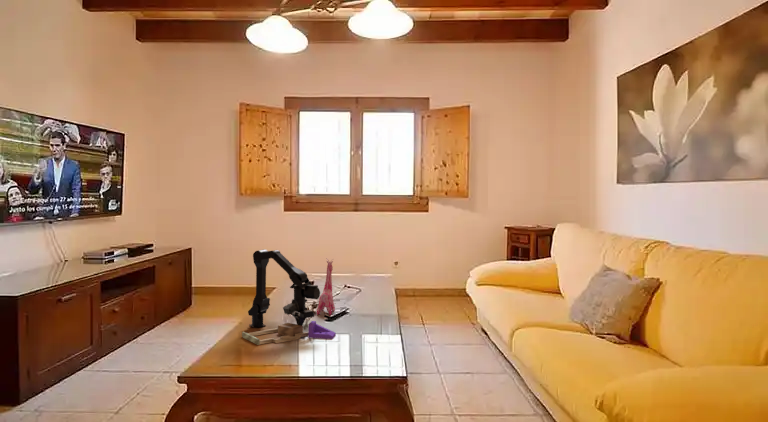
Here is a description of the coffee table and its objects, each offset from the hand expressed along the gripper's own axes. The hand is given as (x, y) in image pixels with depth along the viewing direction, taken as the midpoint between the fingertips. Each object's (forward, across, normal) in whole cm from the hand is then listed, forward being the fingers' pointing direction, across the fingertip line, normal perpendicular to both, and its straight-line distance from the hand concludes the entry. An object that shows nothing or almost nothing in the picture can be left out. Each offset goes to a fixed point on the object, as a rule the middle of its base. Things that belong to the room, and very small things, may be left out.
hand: (299, 328), depth 290 cm
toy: (+2, -29, +35) cm, 45 cm away
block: (+2, 0, -5) cm, 6 cm away
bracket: (+2, +13, +5) cm, 14 cm away
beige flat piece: (+2, +1, -13) cm, 14 cm away
